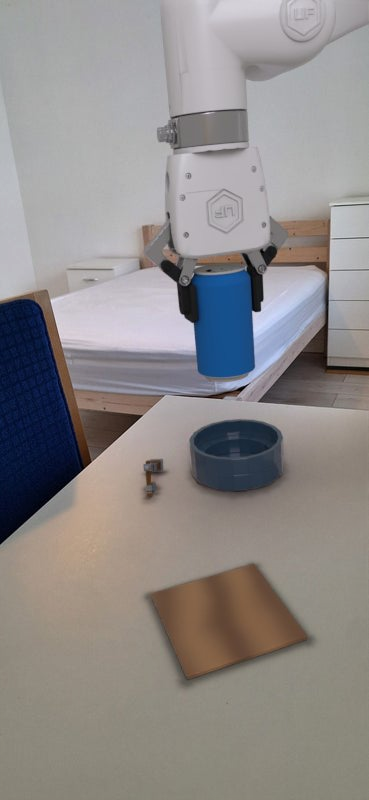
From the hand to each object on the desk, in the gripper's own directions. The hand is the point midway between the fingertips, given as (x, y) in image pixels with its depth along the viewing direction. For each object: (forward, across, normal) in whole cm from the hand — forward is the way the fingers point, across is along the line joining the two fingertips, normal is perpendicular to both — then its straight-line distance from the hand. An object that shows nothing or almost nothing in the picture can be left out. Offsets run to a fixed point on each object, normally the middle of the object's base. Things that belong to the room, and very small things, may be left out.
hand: (222, 313), depth 65 cm
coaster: (+24, -8, -18) cm, 31 cm away
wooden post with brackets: (+24, -8, +9) cm, 27 cm away
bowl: (+24, +3, +7) cm, 25 cm away
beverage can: (+7, 0, 0) cm, 7 cm away
